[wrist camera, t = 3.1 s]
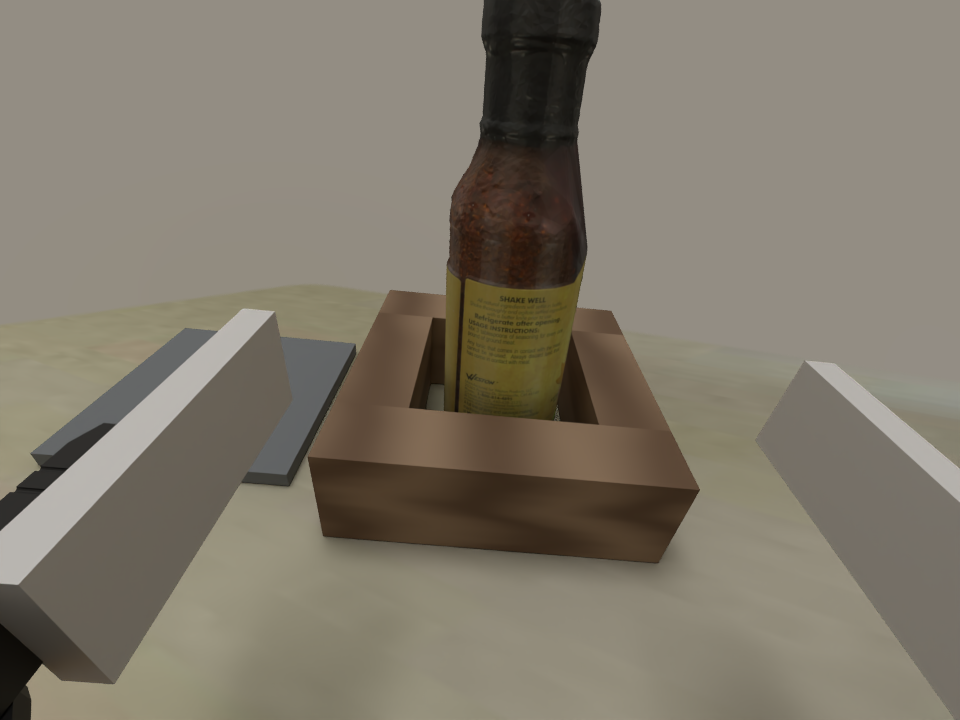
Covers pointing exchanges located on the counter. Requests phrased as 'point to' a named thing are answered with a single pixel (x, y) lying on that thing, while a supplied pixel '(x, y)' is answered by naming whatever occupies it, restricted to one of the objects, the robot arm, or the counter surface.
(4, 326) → the counter surface
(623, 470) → the rectangular frame
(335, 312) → the counter surface
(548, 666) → the counter surface
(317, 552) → the counter surface
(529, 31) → the sauce bottle
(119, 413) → the mat
